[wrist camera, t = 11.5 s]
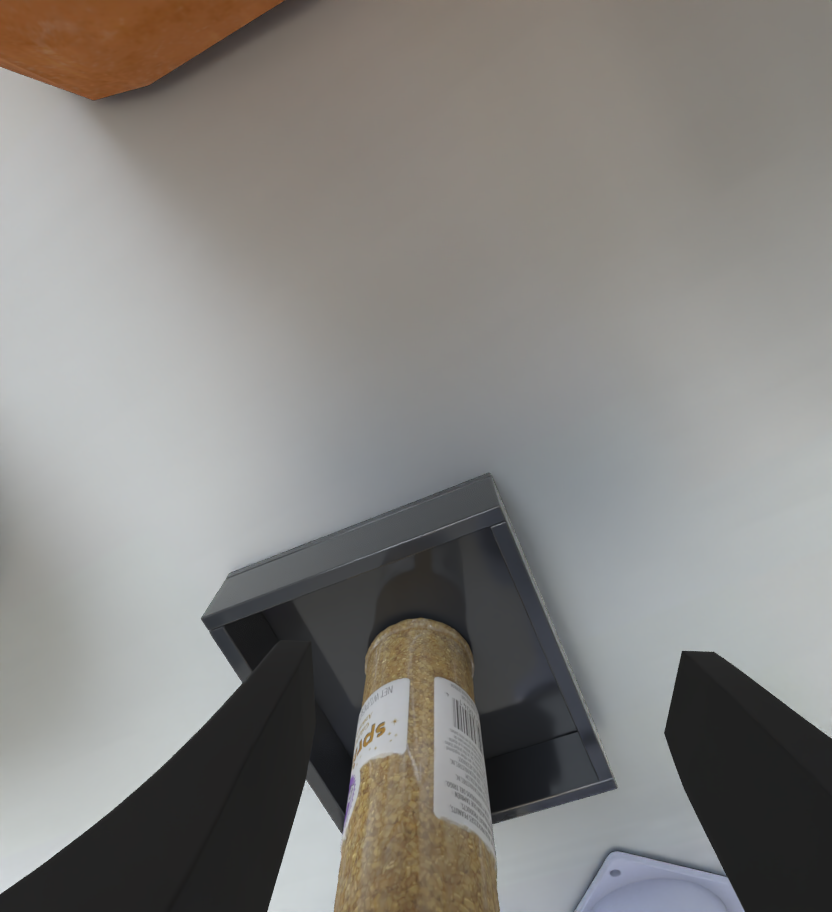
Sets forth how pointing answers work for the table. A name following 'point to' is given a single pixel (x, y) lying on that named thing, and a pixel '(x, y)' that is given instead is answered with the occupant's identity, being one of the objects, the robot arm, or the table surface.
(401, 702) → the sprinkles bottle
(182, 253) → the table surface
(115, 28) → the bread
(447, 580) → the dark gray square tray
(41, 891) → the robot arm
